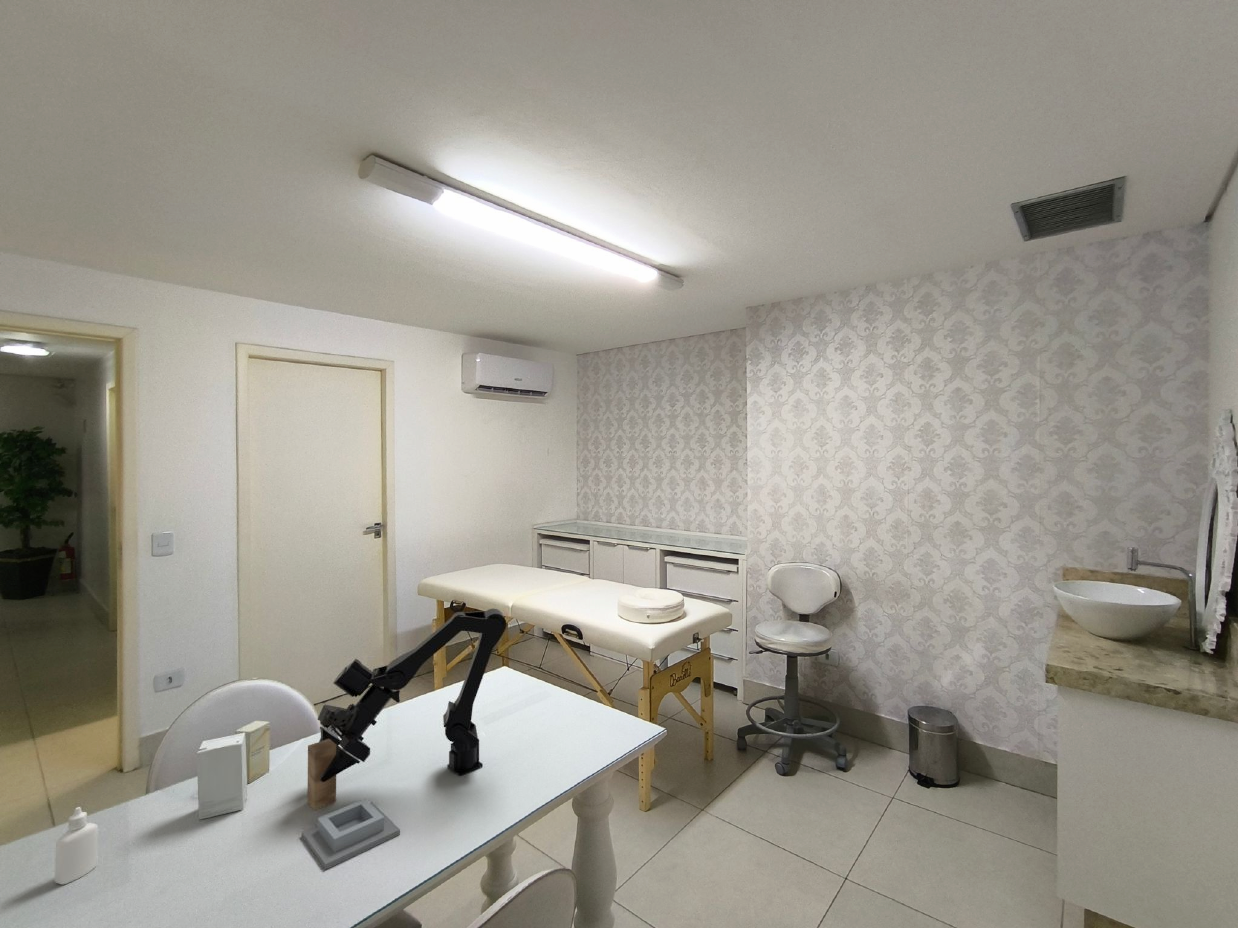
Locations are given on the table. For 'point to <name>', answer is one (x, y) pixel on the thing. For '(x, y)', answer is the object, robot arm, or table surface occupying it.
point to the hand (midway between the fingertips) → (315, 772)
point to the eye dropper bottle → (76, 849)
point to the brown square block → (320, 774)
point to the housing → (348, 832)
